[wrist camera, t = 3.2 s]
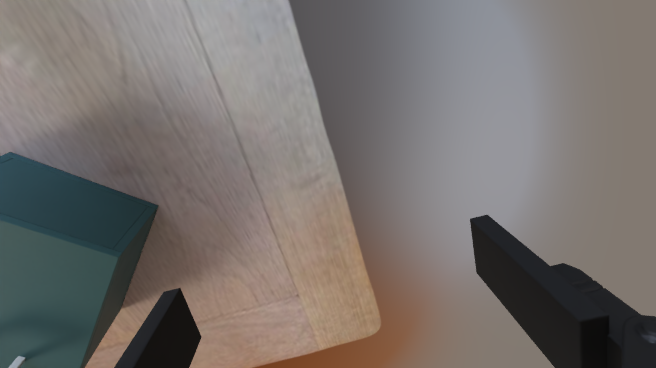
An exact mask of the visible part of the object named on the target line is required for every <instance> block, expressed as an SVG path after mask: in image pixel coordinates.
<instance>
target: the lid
mask: <svg viewBox="0 0 656 368" xmlns="http://www.w3.org/2000/svg"><path fill="white" fill-rule="evenodd" d="M121 255H122V253H121V252H118V251H115V250H112V249H108V248H105V247H102V246H99V245H96V244H93V243H90V242H87V241H84V240H80V239H77V238H74V237H71V236H68V235H65V234H62V233H59V232H56V231H52V230H49V229H46V228H43V227H40V226H37V225H34V224H31V223H27V222H24V221H21V220H18V219H15V218H12V217H9V216H6V215H3V214H0V368H82V367H83V364H84V362H85V359H86V356H87V353H88V350H89V347H90V344H91V341H92V339H93V336H94V333H95V330H96V327H97V324H98V321H99V318H100V316H101V313H102V310H103V307H104V304H105V301H106V298H107V295H108V293H109V290H110V287H111V284H112V281H113V278H114V275H115V273H116V270H117V267H118V264H119V261H120V258H121Z"/></svg>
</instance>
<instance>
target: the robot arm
mask: <svg viewBox="0 0 656 368" xmlns="http://www.w3.org/2000/svg"><path fill="white" fill-rule="evenodd" d="M470 222H471V231H472V239H473V247H474V255H475V263H476V272H477V274H478V275H479V276H480V277H481V278H482V280H483V281H484V282H485V283H486V284H487V286H488V287H489V288H490V289H491V291H492V292H493V293H494V294H495V295H496V297H497V298H498V299H499V300H500V301H501V303H502V304H503V305H504V306H505V308H506V309H507V310H508V311H509V312H510V314H511V315H512V316H513V317H514V319H515V320H516V321H517V322H518V323H519V324H520V326H521V327H522V328H523V329H524V330H525V332H526V333H527V334H528V336H529V337H530V338H531V339H532V340H533V342H534V343H535V344H536V345H537V346H538V348H539V349H540V350H541V351H542V353H543V354H544V355H545V356H546V357H547V359H548V360H549V361H550V362H551V364H552V365H553V366H554V367H555V368H656V317H655V316H645V315H640V314H639V313H638V312H636V311H635V310H634V309H632V308H631V307H630V306H628V305H627V304H625V303H624V302H623V301H622V300H620V299H619V298H618V297H616V296H615V295H613V294H612V293H611V292H609V291H608V290H607V289H605V288H603V287H602V286H601V285H600V284H599V283H597V282H596V281H593V280H592V278H591V277H589V276H588V275H586V274H585V273H584V272H582V271H581V270H580V269H577V268H575V267H572V266H569V265H567V264H564V263H562V264H558V265H554V266H549V265H548V264H547V263H546V262H544V261H543V260H542V259H541V258H539V257H538V256H537V255H536V254H534V253H533V252H532V251H531V250H530V249H528V248H527V247H526V246H525V245H523V244H522V243H521V242H520V241H518V240H517V239H516V238H515V237H514V236H513V235H511V234H510V233H509V232H507V231H506V230H505V229H504V228H503V227H502V226H500V225H499V224H498V223H497V222H495V221H494V220H493V219H492V218H491V217H489V216H488V215H484V216H481V217H476V218H472V219H470ZM200 339H201V335H200V332H199V330H198V328H197V326H196V323H195V321H194V319H193V316H192V314H191V312H190V309H189V307H188V305H187V302H186V300H185V298H184V296H183V293H182V291H181V289H180V288H178V289H174V290H170V291H166V292H163V294H162V295H161V297H160V298H159V300H158V301H157V303H156V305H155V306H154V308H153V309H152V311H151V312H150V314H149V315H148V317H147V318H146V320H145V321H144V323H143V324H142V326H141V327H140V329H139V331H138V332H137V334H136V335H135V337H134V338H133V340H132V341H131V343H130V344H129V346H128V347H127V349H126V350H125V352H124V353H123V355H122V357H121V358H120V360H119V361H118V363H117V364H116V366H115V367H114V368H189V367H190V364H191V362H192V359H193V357H194V354H195V352H196V349H197V347H198V344H199V342H200Z"/></svg>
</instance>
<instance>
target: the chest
mask: <svg viewBox="0 0 656 368" xmlns="http://www.w3.org/2000/svg"><path fill="white" fill-rule="evenodd" d="M157 209H158V205H155V204H152V203H150V202H147V201H144V200H141V199H139V198H136V197H133V196H130V195H127V194H125V193H122V192H119V191H116V190H114V189H111V188H108V187H105V186H103V185H100V184H97V183H94V182H92V181H89V180H86V179H83V178H81V177H78V176H75V175H72V174H70V173H67V172H64V171H61V170H58V169H56V168H53V167H50V166H47V165H45V164H42V163H39V162H36V161H34V160H31V159H28V158H25V157H23V156H20V155H17V154H14V153H12V152H9V153H7V154H4V155H2V156H0V214H3V215H6V216H9V217H12V218H15V219H18V220H21V221H24V222H27V223H31V224H34V225H37V226H40V227H43V228H46V229H49V230H52V231H56V232H59V233H62V234H65V235H68V236H71V237H74V238H77V239H80V240H84V241H87V242H90V243H93V244H96V245H99V246H102V247H105V248H108V249H112V250H115V251H118V252H121V253H122V255H121V258H120V261H119V264H118V267H117V270H116V273H115V275H114V278H113V281H112V284H111V287H110V290H109V293H108V295H107V298H106V301H105V304H104V307H103V310H102V313H101V316H100V318H99V321H98V324H97V327H96V330H95V333H94V336H93V339H92V341H91V344H90V347H89V350H88V353H87V356H86V359H85V362H84V364H83V367H82V368H85V366H86V364H87V363H88V361H89V359H90V358H91V356H92V355H93V353H94V351H95V350H96V348H97V347H98V345H99V343H100V342H101V340H102V338H103V337H104V335H105V334H106V332H107V330H108V329H109V327H110V325H111V324H112V322H113V321H114V319H115V317H116V316H117V314H118V313H119V311H120V309H121V306H122V304H123V301H124V298H125V296H126V293H127V290H128V287H129V285H130V282H131V279H132V277H133V274H134V271H135V268H136V266H137V263H138V260H139V258H140V255H141V252H142V249H143V247H144V244H145V241H146V239H147V236H148V233H149V230H150V228H151V225H152V222H153V220H154V217H155V214H156V211H157Z"/></svg>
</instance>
